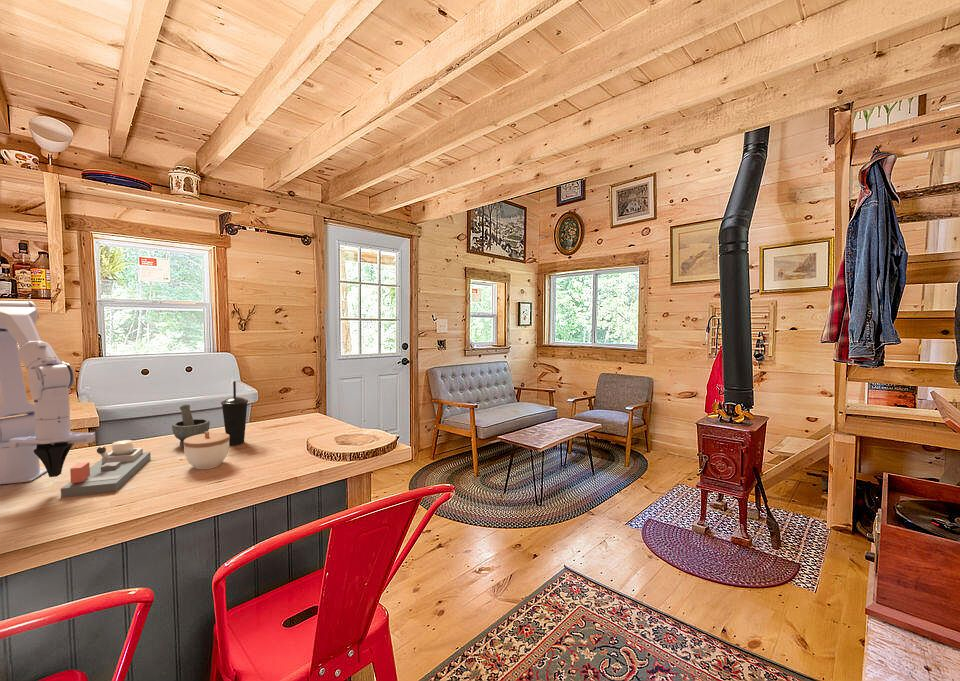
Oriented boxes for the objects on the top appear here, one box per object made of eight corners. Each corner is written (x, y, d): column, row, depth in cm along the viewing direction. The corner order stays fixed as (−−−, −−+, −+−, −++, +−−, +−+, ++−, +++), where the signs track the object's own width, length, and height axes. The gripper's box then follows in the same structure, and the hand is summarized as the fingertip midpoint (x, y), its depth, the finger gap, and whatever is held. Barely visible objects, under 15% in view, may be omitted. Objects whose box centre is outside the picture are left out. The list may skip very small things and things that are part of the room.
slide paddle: (70, 483, 100) (70, 468, 100) (79, 476, 104) (78, 462, 103) (81, 481, 101) (81, 467, 100) (89, 475, 104) (89, 461, 104)
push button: (109, 454, 115) (109, 445, 115) (116, 450, 119) (115, 441, 119) (129, 453, 117) (129, 444, 117) (135, 448, 121) (135, 439, 121)
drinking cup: (225, 440, 142) (223, 379, 141) (251, 439, 144) (250, 379, 143) (218, 447, 135) (217, 383, 133) (246, 445, 137) (245, 382, 136)
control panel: (61, 497, 98) (60, 482, 98) (106, 462, 120) (106, 450, 120) (116, 491, 101) (115, 476, 101) (150, 458, 124) (150, 446, 123)
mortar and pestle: (214, 443, 139) (213, 406, 138) (180, 450, 131) (179, 411, 130) (200, 437, 145) (199, 401, 145) (167, 443, 138) (166, 406, 137)
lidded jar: (237, 464, 121) (237, 430, 120) (195, 475, 112) (194, 439, 111) (218, 456, 127) (218, 424, 126) (176, 466, 118) (176, 432, 117)
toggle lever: (102, 462, 109) (93, 450, 108) (105, 460, 111) (97, 447, 110) (110, 459, 110) (101, 446, 109) (113, 457, 111) (104, 444, 111)
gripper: (-2, 423, 93) (1, 485, 94) (84, 418, 98) (86, 477, 99) (19, 416, 100) (21, 474, 100) (98, 412, 105) (100, 467, 106)
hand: (55, 475), depth 100 cm, fingers closed
